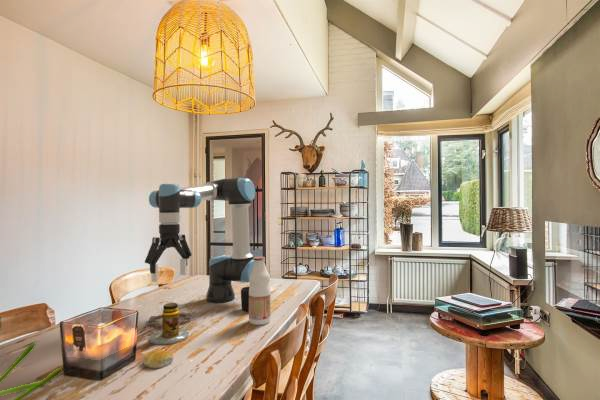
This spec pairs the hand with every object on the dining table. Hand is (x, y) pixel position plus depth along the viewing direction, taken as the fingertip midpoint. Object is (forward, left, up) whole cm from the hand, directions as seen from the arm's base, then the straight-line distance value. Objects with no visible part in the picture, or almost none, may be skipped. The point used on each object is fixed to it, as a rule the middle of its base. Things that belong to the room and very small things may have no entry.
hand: (169, 278), depth 135 cm
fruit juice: (-36, -8, -23) cm, 43 cm away
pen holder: (-34, -27, -23) cm, 49 cm away
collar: (+2, -19, -23) cm, 29 cm away
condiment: (0, +1, -22) cm, 22 cm away
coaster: (0, +1, -23) cm, 23 cm away
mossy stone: (+1, +23, -23) cm, 32 cm away
